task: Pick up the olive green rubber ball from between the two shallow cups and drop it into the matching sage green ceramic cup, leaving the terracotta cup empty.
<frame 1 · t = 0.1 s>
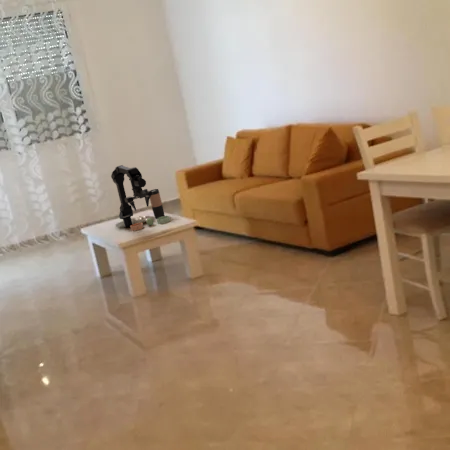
hand: (141, 208, 470), 14 cm above the table, tool pointing down, fingers open, 9 cm apart
green cup: (164, 221, 484), on the table
terracotta cup: (137, 228, 481), on the table
ball: (149, 221, 482), point 2 cm above the table
travel mug: (159, 217, 502), on the table
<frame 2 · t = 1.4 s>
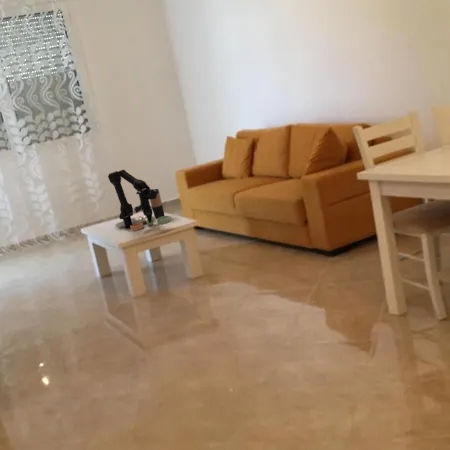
hand: (149, 221, 482), 3 cm above the table, tool pointing down, fingers open, 9 cm apart
nothing on the table moved.
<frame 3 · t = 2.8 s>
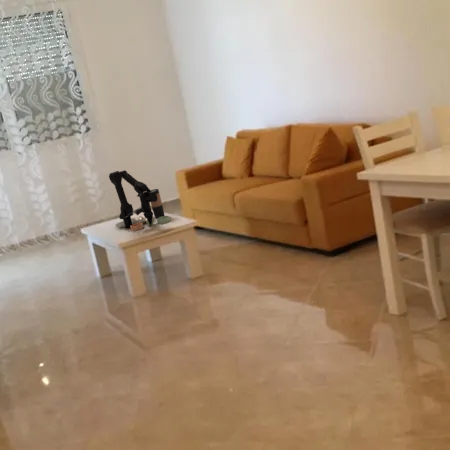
hand: (150, 223, 482), 1 cm above the table, tool pointing down, fingers closed on ball, 5 cm apart
ball: (149, 221, 482), point 2 cm above the table, touching gripper
everything else where it was.
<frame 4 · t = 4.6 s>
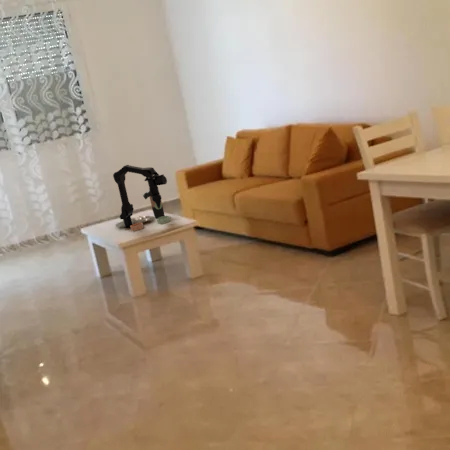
hand: (158, 207, 481), 11 cm above the table, tool pointing down, fingers closed on ball, 5 cm apart
ball: (158, 205, 481), point 12 cm above the table, touching gripper
everything else where it was.
when the fingers open (3 cm above the table, at t = 6.7 s): ball drops 2 cm, resting on green cup.
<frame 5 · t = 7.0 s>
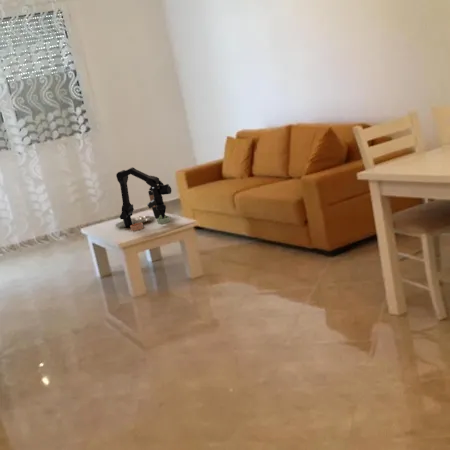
hand: (162, 217, 483), 3 cm above the table, tool pointing down, fingers open, 8 cm apart
ball: (163, 217, 483), point 3 cm above the table, touching green cup
everything else where it was.
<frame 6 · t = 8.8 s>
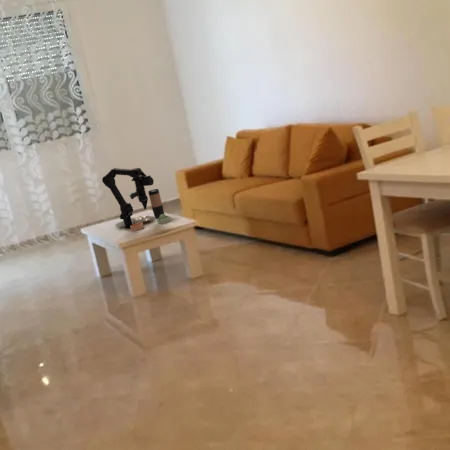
hand: (144, 208, 486), 12 cm above the table, tool pointing down, fingers open, 9 cm apart
nothing on the table moved.
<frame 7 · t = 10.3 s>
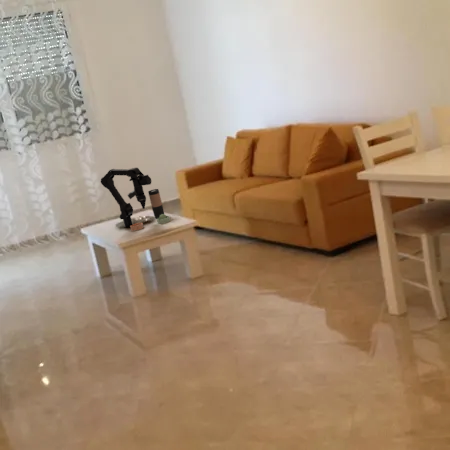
hand: (143, 207, 486), 12 cm above the table, tool pointing down, fingers open, 9 cm apart
nothing on the table moved.
at the end: ball 0.1 cm off-centre on the green cup, point 3.0 cm above the green cup's base; the gripper is holding nothing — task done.
